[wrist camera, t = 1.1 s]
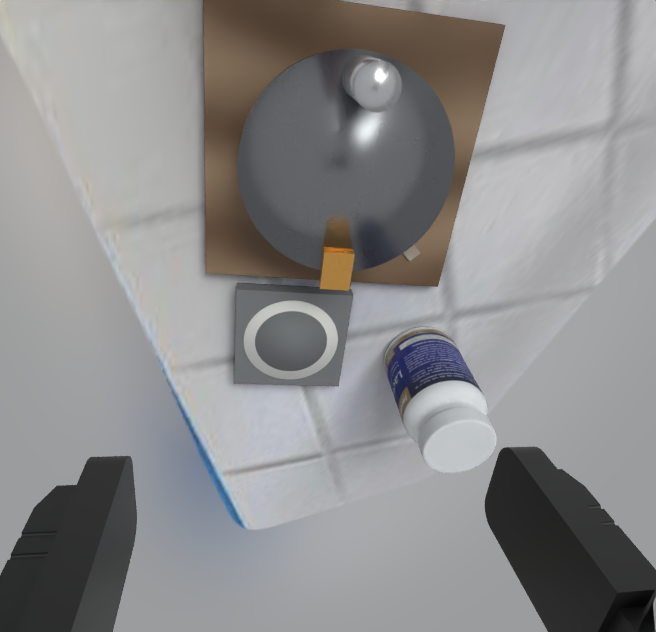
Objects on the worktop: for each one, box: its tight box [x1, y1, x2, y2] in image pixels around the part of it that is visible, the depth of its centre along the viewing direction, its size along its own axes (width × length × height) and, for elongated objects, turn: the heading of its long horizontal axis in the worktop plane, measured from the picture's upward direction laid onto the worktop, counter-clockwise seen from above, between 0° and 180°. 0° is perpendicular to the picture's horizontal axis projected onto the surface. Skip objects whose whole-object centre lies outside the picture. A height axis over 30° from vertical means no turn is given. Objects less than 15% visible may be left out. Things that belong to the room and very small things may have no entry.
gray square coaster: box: [234, 283, 353, 386], centre depth 36 cm, size 8×8×1 cm
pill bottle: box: [384, 327, 496, 473], centre depth 34 cm, size 6×6×10 cm
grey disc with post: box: [237, 48, 455, 291], centre depth 26 cm, size 13×12×6 cm
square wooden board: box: [203, 0, 505, 287], centre depth 29 cm, size 16×16×2 cm
